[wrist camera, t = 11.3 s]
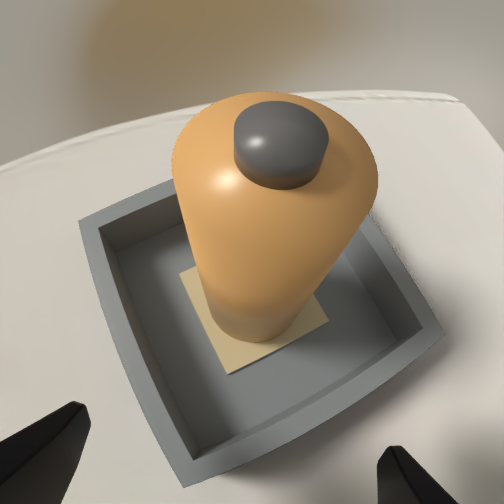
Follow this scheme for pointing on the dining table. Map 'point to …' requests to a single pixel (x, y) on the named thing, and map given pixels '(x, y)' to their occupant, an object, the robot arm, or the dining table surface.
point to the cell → (269, 204)
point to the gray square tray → (239, 352)
